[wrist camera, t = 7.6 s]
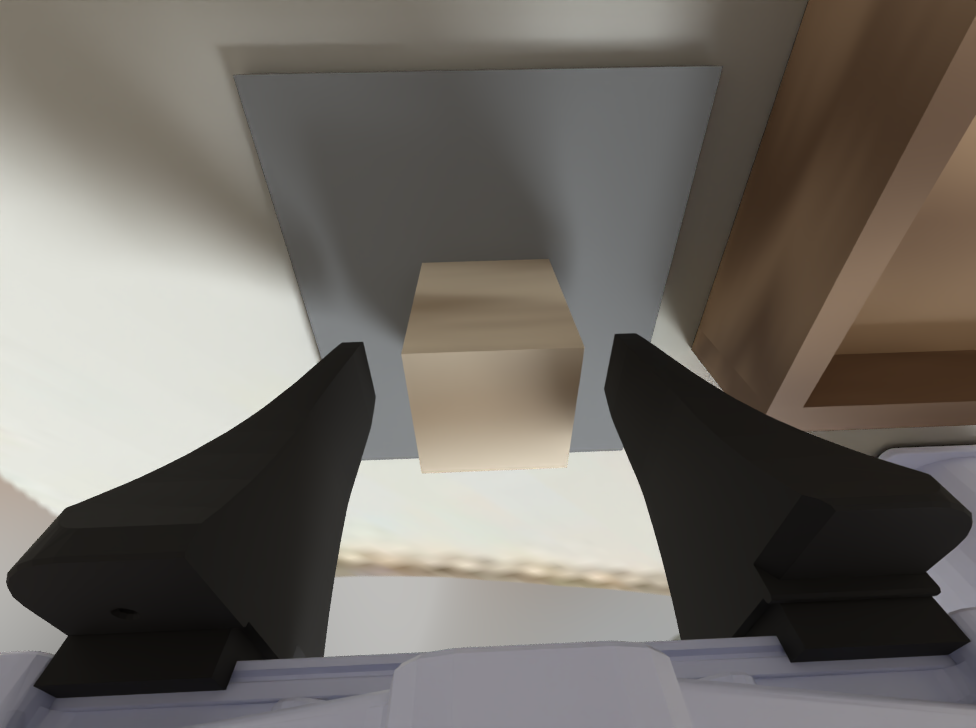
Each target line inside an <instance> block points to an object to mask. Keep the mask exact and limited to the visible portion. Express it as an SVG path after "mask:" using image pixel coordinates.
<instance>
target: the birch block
mask: <svg viewBox="0 0 976 728" xmlns="http://www.w3.org/2000/svg"><path fill="white" fill-rule="evenodd" d="M584 349H585V347H584V345H583V342H582V340H581V337H580V335H579V332H578V330H577V327H576V325H575V322H574V320H573V317H572V315H571V312H570V310H569V307H568V305H567V303H566V300H565V298H564V295H563V293H562V290H561V288H560V285H559V283H558V280H557V278H556V275H555V273H554V270H553V268H552V265H551V263H550V260H549V259H532V260H499V261H466V262H433V263H422V265H421V270H420V274H419V279H418V283H417V287H416V292H415V296H414V300H413V305H412V309H411V313H410V318H409V322H408V326H407V331H406V335H405V339H404V344H403V348H402V352H401V356H402V362H403V368H404V373H405V379H406V385H407V391H408V397H409V402H410V408H411V414H412V420H413V426H414V431H415V437H416V443H417V449H418V455H419V460H420V466H421V472H422V473H446V472H471V471H495V470H519V469H544V468H567V464H568V457H569V450H570V444H571V437H572V430H573V423H574V417H575V410H576V403H577V396H578V390H579V383H580V376H581V369H582V363H583V356H584Z"/></svg>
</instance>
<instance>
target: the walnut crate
mask: <svg viewBox="0 0 976 728" xmlns="http://www.w3.org/2000/svg"><path fill="white" fill-rule="evenodd" d="M691 350H692V351H693V352H694V354H695V355H696V356H697V358H698V359H699V360H700V361H701V363H702V364H703V365H704V367H705V368H706V369H707V371H708V372H709V373H710V374H711V376H712V377H713V378H714V380H715V381H716V382H717V383H718V385H719V386H720V387H721V389H722V390H723V391H724V392H725V393H726V394H728V395H730V396H732V397H734V398H735V399H737V400H739V401H741V402H743V403H745V404H747V405H749V406H750V407H752V408H754V409H756V410H758V411H760V412H762V413H764V414H766V415H768V416H770V417H773V418H775V419H777V420H779V421H781V422H784V423H786V424H788V425H790V426H793V427H795V428H797V429H800V430H802V431H829V430H856V429H882V428H908V427H934V426H960V425H976V0H809V1H808V4H807V7H806V10H805V13H804V16H803V19H802V22H801V25H800V28H799V31H798V34H797V37H796V40H795V43H794V46H793V49H792V52H791V55H790V58H789V60H788V63H787V66H786V69H785V72H784V75H783V78H782V81H781V84H780V87H779V90H778V93H777V96H776V99H775V102H774V105H773V108H772V111H771V114H770V117H769V120H768V123H767V126H766V129H765V132H764V135H763V138H762V141H761V144H760V147H759V150H758V153H757V156H756V159H755V161H754V164H753V167H752V170H751V173H750V176H749V179H748V182H747V185H746V188H745V191H744V194H743V197H742V200H741V203H740V206H739V209H738V212H737V215H736V218H735V221H734V224H733V227H732V230H731V233H730V236H729V239H728V242H727V245H726V248H725V251H724V254H723V257H722V260H721V262H720V265H719V268H718V271H717V274H716V277H715V280H714V283H713V286H712V289H711V292H710V295H709V298H708V301H707V304H706V307H705V310H704V313H703V316H702V319H701V322H700V325H699V328H698V331H697V334H696V337H695V340H694V343H693V346H692V349H691Z"/></svg>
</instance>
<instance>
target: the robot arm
mask: <svg viewBox="0 0 976 728" xmlns="http://www.w3.org/2000/svg"><path fill="white" fill-rule="evenodd" d="M604 391H605V395H606V399H607V404H608V407H609V411H610V414H611V418H612V420H613V423H614V425H615V428H616V430H617V433H618V435H619V437H620V440H621V442H622V444H623V447H624V449H625V451H626V454H627V456H628V458H629V461H630V463H631V465H632V468H633V470H634V473H635V475H636V477H637V480H638V482H639V485H640V487H641V490H642V493H643V495H644V498H645V502H646V505H647V508H648V512H649V515H650V518H651V522H652V525H653V528H654V532H655V536H656V539H657V543H658V546H659V550H660V554H661V557H662V561H663V565H664V569H665V573H666V577H667V581H668V585H669V589H670V593H671V597H672V601H673V606H674V610H675V615H676V619H677V623H678V629H679V633H680V638H681V640H675V641H653V642H625V641H597V642H596V641H594V642H575V643H574V642H572V643H551V644H530V645H509V646H489V647H467V648H452V649H445V650H439V651H433V652H421V653H399V654H380V655H356V656H336V657H324V649H325V642H326V633H327V626H328V617H329V611H330V604H331V597H332V590H333V584H334V577H335V571H336V565H337V559H338V554H339V548H340V542H341V537H342V531H343V526H344V521H345V516H346V511H347V506H348V502H349V498H350V495H351V491H352V488H353V485H354V481H355V478H356V475H357V472H358V469H359V465H360V462H361V459H362V456H363V452H364V449H365V446H366V443H367V439H368V436H369V433H370V429H371V425H372V419H373V414H374V407H375V400H376V395H375V390H374V386H373V382H372V377H371V373H370V369H369V364H368V360H367V356H366V351H365V347H364V343H363V342H342V343H340V344H339V345H338V346H337V347H336V348H334V349H333V350H332V351H331V352H330V353H329V354H327V355H326V356H325V357H324V358H323V359H322V360H321V361H320V362H319V363H317V364H316V365H315V366H314V367H313V368H312V369H311V370H309V371H308V372H307V373H306V374H305V375H304V376H303V377H301V378H300V379H299V380H298V381H297V382H296V383H294V384H293V385H292V386H291V387H289V388H288V389H287V390H285V391H284V392H283V393H282V394H280V395H279V396H278V397H277V398H275V399H274V400H273V401H272V402H270V403H269V404H268V405H266V406H265V407H264V408H262V409H261V410H259V411H258V412H257V413H255V414H254V415H252V416H251V417H249V418H248V419H246V420H245V421H243V422H242V423H240V424H239V425H237V426H236V427H234V428H232V429H231V430H229V431H228V432H226V433H224V434H223V435H221V436H219V437H217V438H215V439H214V440H212V441H210V442H208V443H207V444H205V445H203V446H201V447H200V448H198V449H196V450H194V451H193V452H191V453H189V454H187V455H185V456H183V457H181V458H179V459H177V460H175V461H173V462H171V463H169V464H167V465H165V466H163V467H161V468H159V469H157V470H155V471H153V472H151V473H148V474H146V475H144V476H142V477H140V478H138V479H135V480H133V481H131V482H129V483H126V484H124V485H122V486H119V487H117V488H114V489H112V490H109V491H107V492H105V493H102V494H100V495H97V496H95V497H92V498H90V499H88V500H85V501H83V502H80V503H78V504H75V505H73V506H70V507H67V508H65V509H64V510H63V512H62V513H61V514H60V515H59V516H58V517H57V518H56V519H55V521H54V522H53V523H52V524H51V525H50V527H48V528H47V530H46V531H45V532H44V533H43V534H42V535H41V536H40V537H39V539H37V541H36V542H35V543H34V544H33V545H32V546H31V547H30V548H29V549H28V551H27V552H26V553H25V554H24V555H23V556H22V557H21V558H20V560H19V561H18V562H17V563H16V564H15V565H14V566H13V567H12V569H11V570H10V571H9V572H8V574H7V580H6V583H7V586H8V589H9V591H10V592H11V594H12V596H13V597H14V598H15V599H16V600H17V601H19V602H20V603H21V604H22V605H23V606H25V607H26V608H28V609H29V610H31V611H32V612H34V613H35V614H36V615H38V616H39V617H41V618H42V619H44V620H45V621H47V622H48V623H50V624H51V625H53V626H54V627H56V628H57V629H59V630H60V631H62V632H63V633H65V634H66V635H68V637H67V638H66V640H65V641H64V643H63V644H62V646H61V647H60V649H59V650H58V651H57V653H56V654H55V655H53V654H50V653H46V652H41V651H15V652H0V728H976V445H959V446H934V447H908V448H892V449H889V450H886V451H885V452H883V453H882V454H881V455H880V456H879V457H878V458H875V457H872V456H869V455H866V454H863V453H860V452H857V451H854V450H852V449H849V448H846V447H843V446H840V445H838V444H835V443H832V442H829V441H827V440H824V439H822V438H819V437H817V436H814V435H812V434H809V433H807V432H804V431H802V430H800V429H797V428H795V427H793V426H790V425H788V424H786V423H784V422H781V421H779V420H777V419H775V418H773V417H770V416H768V415H766V414H764V413H762V412H760V411H758V410H756V409H754V408H752V407H750V406H749V405H747V404H745V403H743V402H741V401H739V400H737V399H735V398H734V397H732V396H730V395H728V394H726V393H725V392H723V391H721V390H720V389H718V388H717V387H715V386H713V385H712V384H710V383H708V382H707V381H705V380H704V379H702V378H701V377H699V376H697V375H696V374H694V373H693V372H691V371H690V370H688V369H687V368H686V367H684V366H683V365H681V364H680V363H678V362H677V361H675V360H674V359H673V358H671V357H670V356H668V355H667V354H666V353H664V352H663V351H661V350H660V349H659V348H657V347H656V346H654V345H653V344H652V343H650V342H649V341H647V340H646V339H644V338H643V337H641V336H640V335H638V334H636V333H624V334H615V335H614V340H613V345H612V350H611V355H610V360H609V365H608V370H607V376H606V381H605V386H604Z"/></svg>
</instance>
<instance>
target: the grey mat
mask: <svg viewBox="0 0 976 728" xmlns="http://www.w3.org/2000/svg"><path fill="white" fill-rule="evenodd" d="M722 68H723V66H672V67H617V68H563V69H508V70H453V71H399V72H344V73H289V74H241V75H233V77H234V80H235V83H236V86H237V90H238V93H239V96H240V99H241V102H242V106H243V109H244V112H245V115H246V118H247V122H248V125H249V128H250V131H251V134H252V138H253V141H254V144H255V147H256V150H257V154H258V157H259V160H260V163H261V166H262V170H263V173H264V176H265V179H266V182H267V186H268V189H269V192H270V195H271V198H272V202H273V205H274V208H275V211H276V214H277V218H278V221H279V224H280V227H281V230H282V234H283V237H284V240H285V243H286V246H287V250H288V253H289V256H290V259H291V262H292V266H293V269H294V272H295V275H296V279H297V282H298V285H299V288H300V291H301V295H302V298H303V301H304V304H305V307H306V311H307V314H308V317H309V320H310V323H311V327H312V330H313V333H314V336H315V339H316V343H317V346H318V349H319V352H320V355H321V359H323V358H324V357H325V356H326V355H327V354H329V353H330V352H331V351H332V350H333V349H334V348H336V347H337V346H338V345H339V344H340V343H342V342H363V343H364V347H365V351H366V356H367V360H368V364H369V369H370V373H371V377H372V382H373V386H374V390H375V395H376V400H375V407H374V414H373V419H372V425H371V429H370V433H369V436H368V439H367V443H366V446H365V449H364V452H363V456H362V459H361V460H385V459H411V458H419V455H418V449H417V443H416V437H415V431H414V426H413V420H412V414H411V408H410V402H409V397H408V391H407V385H406V379H405V373H404V368H403V362H402V356H401V352H402V348H403V344H404V339H405V335H406V331H407V326H408V322H409V318H410V313H411V309H412V305H413V300H414V296H415V292H416V287H417V283H418V279H419V274H420V270H421V265H422V263H433V262H466V261H499V260H532V259H549V260H550V263H551V265H552V268H553V270H554V273H555V275H556V278H557V280H558V283H559V285H560V288H561V290H562V293H563V295H564V298H565V300H566V303H567V305H568V307H569V310H570V312H571V315H572V317H573V320H574V322H575V325H576V327H577V330H578V332H579V335H580V337H581V340H582V342H583V345H584V347H585V349H584V356H583V363H582V369H581V376H580V383H579V390H578V396H577V403H576V410H575V417H574V423H573V430H572V437H571V444H570V450H569V452H591V451H617V450H622V449H623V444H622V442H621V440H620V437H619V435H618V433H617V430H616V428H615V425H614V423H613V420H612V418H611V414H610V411H609V407H608V404H607V399H606V395H605V391H604V386H605V381H606V376H607V370H608V365H609V360H610V355H611V350H612V345H613V340H614V335H615V334H624V333H636V334H638V335H640V336H641V337H643V338H644V339H646V340H647V341H649V342H651V338H652V335H653V331H654V327H655V323H656V319H657V315H658V312H659V308H660V304H661V300H662V296H663V293H664V289H665V285H666V281H667V277H668V274H669V270H670V266H671V262H672V258H673V254H674V251H675V247H676V243H677V239H678V235H679V232H680V228H681V224H682V220H683V216H684V213H685V209H686V205H687V201H688V197H689V193H690V190H691V186H692V182H693V178H694V174H695V171H696V167H697V163H698V159H699V155H700V152H701V148H702V144H703V140H704V136H705V132H706V129H707V125H708V121H709V117H710V113H711V110H712V106H713V102H714V98H715V94H716V91H717V87H718V83H719V79H720V75H721V71H722Z"/></svg>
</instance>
